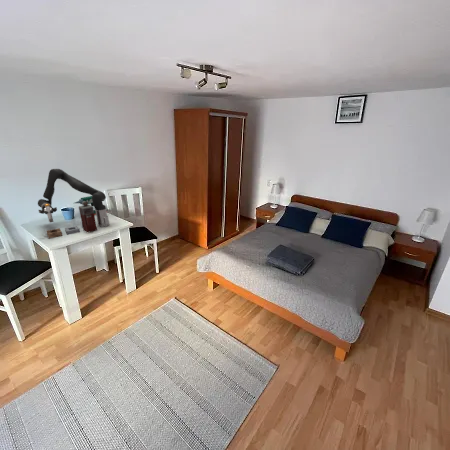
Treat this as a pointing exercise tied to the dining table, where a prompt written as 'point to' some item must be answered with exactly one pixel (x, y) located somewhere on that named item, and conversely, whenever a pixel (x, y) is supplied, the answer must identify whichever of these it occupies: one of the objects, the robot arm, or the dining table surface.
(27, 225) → the dining table surface
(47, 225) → the dining table surface
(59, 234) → the walnut rack
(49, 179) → the robot arm
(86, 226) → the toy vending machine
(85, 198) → the power tool
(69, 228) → the socket block
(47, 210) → the steel peg
